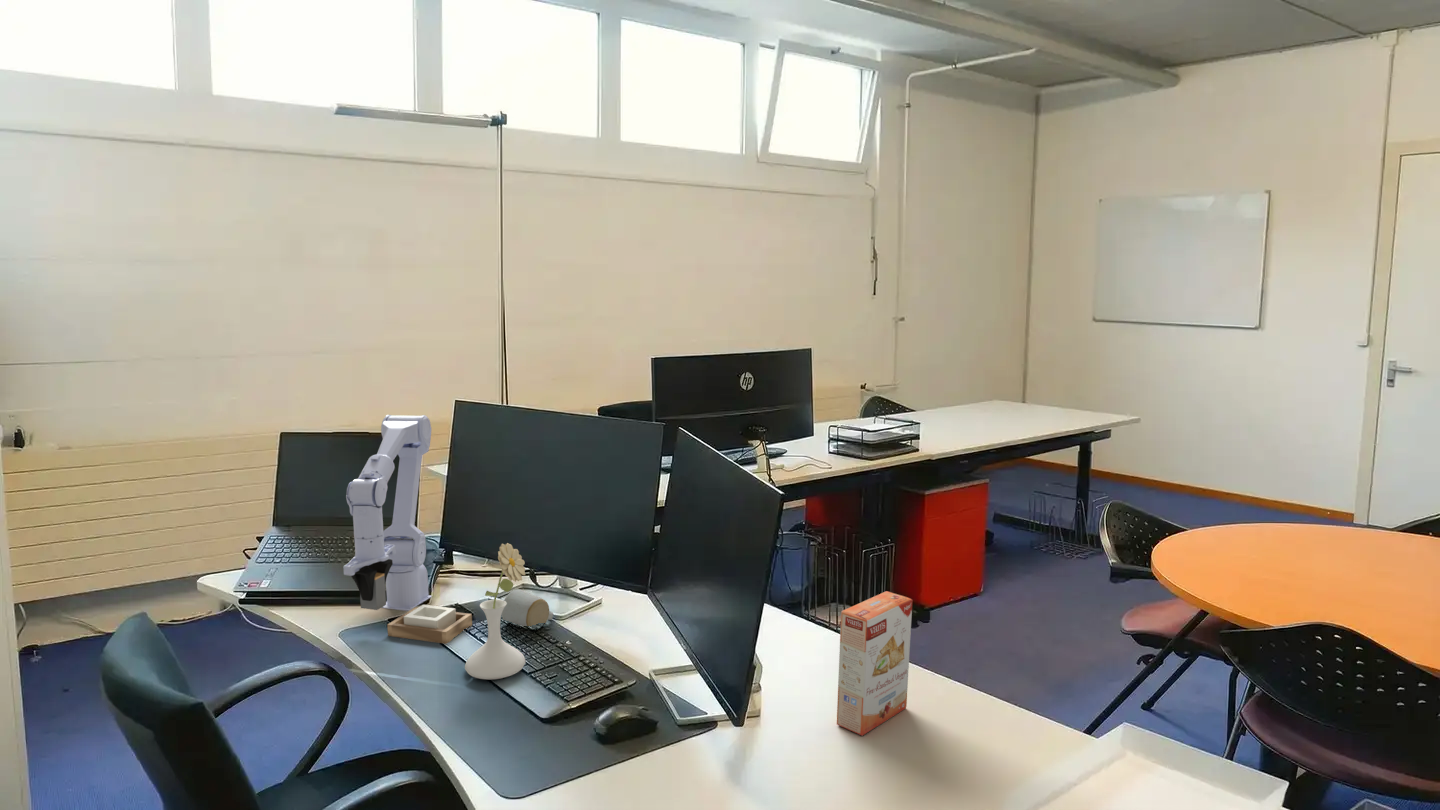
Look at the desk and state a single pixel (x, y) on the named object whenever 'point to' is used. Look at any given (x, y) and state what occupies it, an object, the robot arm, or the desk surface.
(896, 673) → the cracker box
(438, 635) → the walled box
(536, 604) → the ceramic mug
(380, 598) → the block
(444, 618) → the socket block
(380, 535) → the robot arm
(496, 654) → the flower in vase
